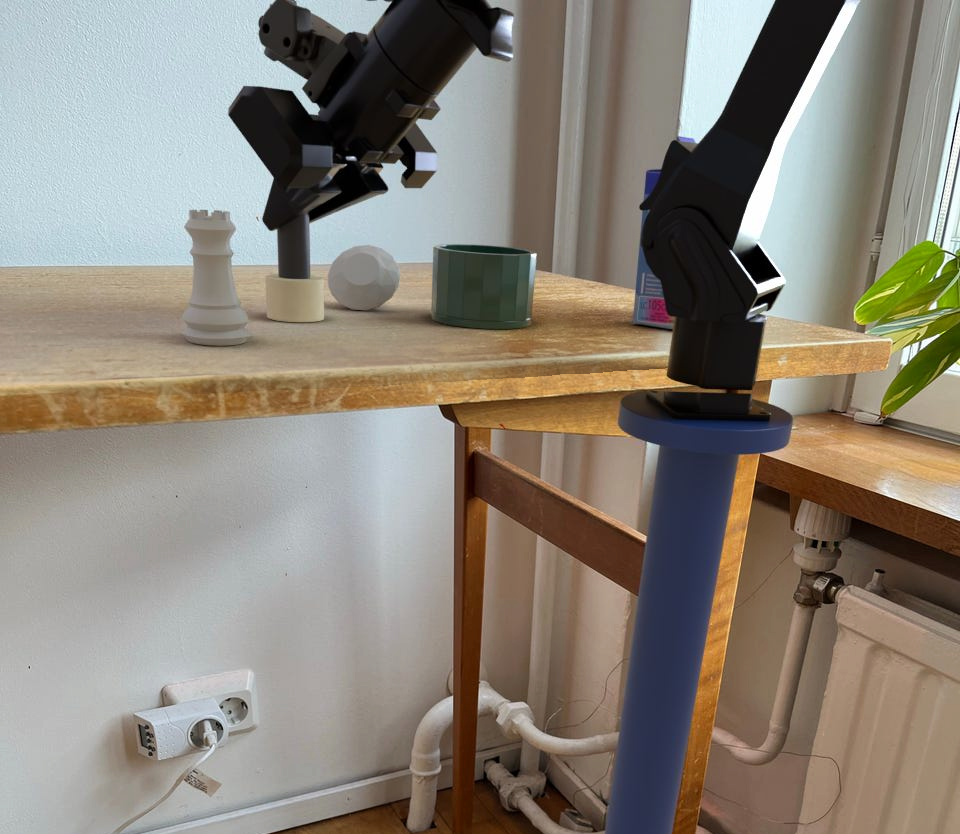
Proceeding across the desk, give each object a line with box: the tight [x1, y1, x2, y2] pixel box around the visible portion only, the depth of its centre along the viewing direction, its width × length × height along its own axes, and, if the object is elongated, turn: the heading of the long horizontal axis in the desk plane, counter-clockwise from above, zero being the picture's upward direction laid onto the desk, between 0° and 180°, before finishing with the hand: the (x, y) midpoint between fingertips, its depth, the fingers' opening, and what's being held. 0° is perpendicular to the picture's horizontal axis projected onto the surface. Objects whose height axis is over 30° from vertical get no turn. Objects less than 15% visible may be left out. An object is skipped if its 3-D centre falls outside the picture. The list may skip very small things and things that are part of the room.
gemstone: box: [327, 244, 401, 312], centre depth 84 cm, size 6×6×5 cm
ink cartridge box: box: [632, 135, 697, 330], centre depth 83 cm, size 10×6×14 cm, turn 148°
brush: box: [264, 211, 325, 323], centre depth 73 cm, size 4×4×13 cm
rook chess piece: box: [181, 209, 251, 347], centre depth 64 cm, size 4×4×8 cm
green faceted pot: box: [430, 243, 538, 330], centre depth 79 cm, size 8×8×6 cm
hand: (278, 225), depth 74 cm, fingers closed on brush, 2 cm apart
